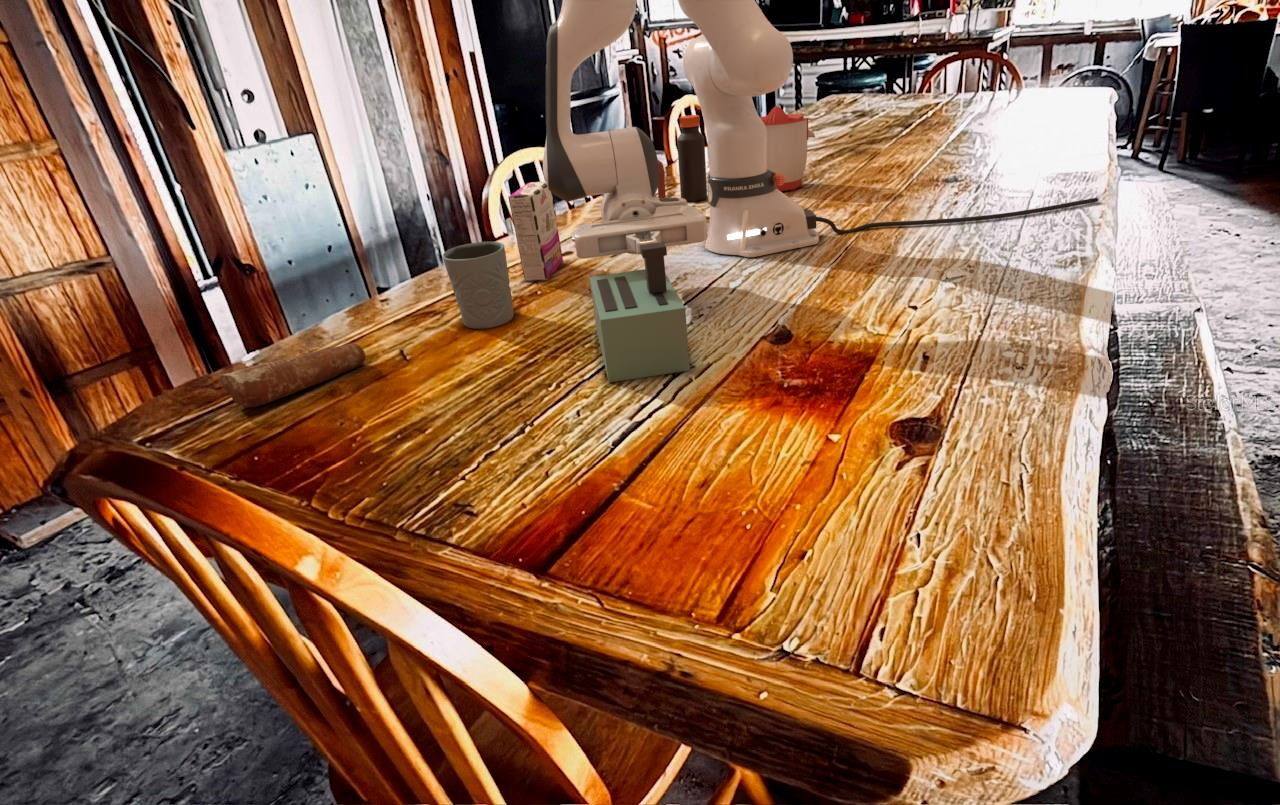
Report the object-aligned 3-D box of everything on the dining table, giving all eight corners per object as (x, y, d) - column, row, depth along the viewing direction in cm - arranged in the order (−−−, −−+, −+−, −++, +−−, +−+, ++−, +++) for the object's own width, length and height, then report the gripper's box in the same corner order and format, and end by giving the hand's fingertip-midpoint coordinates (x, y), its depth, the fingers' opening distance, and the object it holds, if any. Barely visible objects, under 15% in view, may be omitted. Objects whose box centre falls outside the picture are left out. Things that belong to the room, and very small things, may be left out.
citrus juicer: (820, 190, 176) (822, 105, 167) (751, 197, 177) (749, 112, 168) (807, 178, 190) (809, 98, 181) (743, 184, 191) (741, 105, 182)
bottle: (711, 196, 183) (708, 114, 173) (699, 202, 178) (695, 118, 168) (689, 195, 186) (683, 114, 177) (676, 201, 181) (670, 119, 172)
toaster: (666, 322, 110) (661, 265, 106) (689, 370, 94) (685, 306, 90) (596, 332, 109) (589, 275, 105) (608, 382, 94) (600, 318, 89)
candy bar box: (540, 263, 145) (527, 182, 137) (564, 262, 144) (551, 180, 136) (522, 282, 135) (506, 195, 127) (547, 281, 134) (532, 194, 126)
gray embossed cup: (489, 334, 113) (474, 261, 107) (445, 326, 118) (428, 256, 112) (530, 311, 120) (517, 242, 115) (486, 305, 125) (472, 238, 120)
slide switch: (667, 286, 97) (663, 241, 94) (670, 291, 95) (666, 246, 92) (644, 289, 97) (639, 245, 94) (646, 294, 95) (642, 249, 92)
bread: (229, 406, 98) (214, 371, 96) (360, 359, 109) (349, 325, 107) (242, 420, 94) (227, 383, 92) (377, 369, 105) (366, 335, 102)
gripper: (567, 213, 111) (572, 236, 99) (694, 196, 112) (715, 216, 100) (573, 252, 114) (578, 279, 102) (696, 235, 115) (717, 259, 103)
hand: (647, 247), depth 101 cm, fingers closed
